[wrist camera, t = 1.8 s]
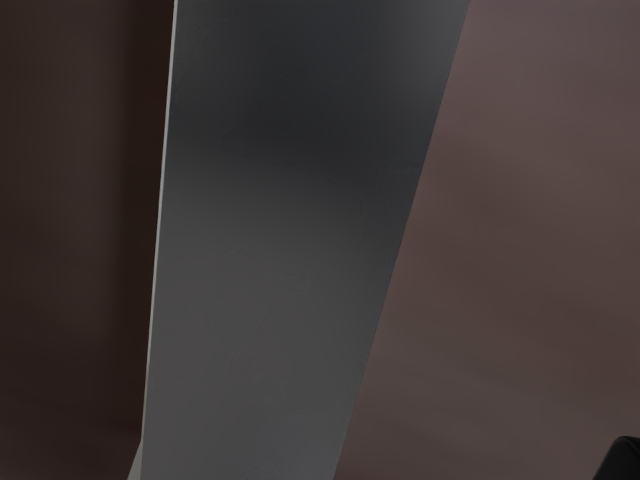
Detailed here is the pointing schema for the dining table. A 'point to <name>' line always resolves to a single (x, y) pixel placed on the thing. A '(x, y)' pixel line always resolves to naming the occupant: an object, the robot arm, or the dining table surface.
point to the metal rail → (283, 223)
